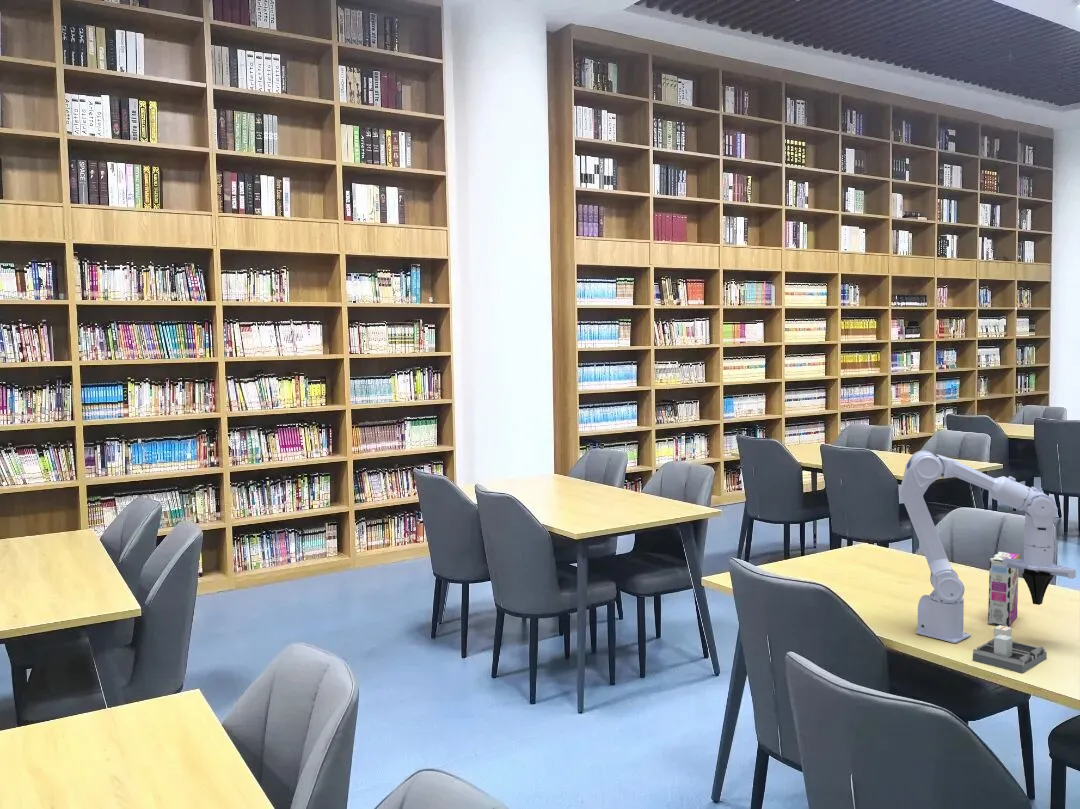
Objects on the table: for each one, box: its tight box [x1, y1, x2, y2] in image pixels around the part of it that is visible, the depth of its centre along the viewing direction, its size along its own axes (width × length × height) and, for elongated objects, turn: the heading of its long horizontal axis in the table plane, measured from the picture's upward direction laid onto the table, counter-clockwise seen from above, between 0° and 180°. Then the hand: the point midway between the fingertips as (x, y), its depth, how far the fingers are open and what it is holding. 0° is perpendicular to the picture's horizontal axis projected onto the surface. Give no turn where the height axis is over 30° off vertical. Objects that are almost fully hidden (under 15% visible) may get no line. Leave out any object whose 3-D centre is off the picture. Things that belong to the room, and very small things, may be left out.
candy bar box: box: [987, 551, 1020, 627], centre depth 206 cm, size 11×5×16 cm, turn 141°
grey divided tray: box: [972, 638, 1048, 674], centre depth 180 cm, size 10×13×3 cm
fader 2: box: [993, 634, 1013, 657], centre depth 178 cm, size 2×3×4 cm
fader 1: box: [993, 625, 1013, 638], centre depth 184 cm, size 2×3×4 cm
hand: (1037, 603), depth 189 cm, fingers closed
